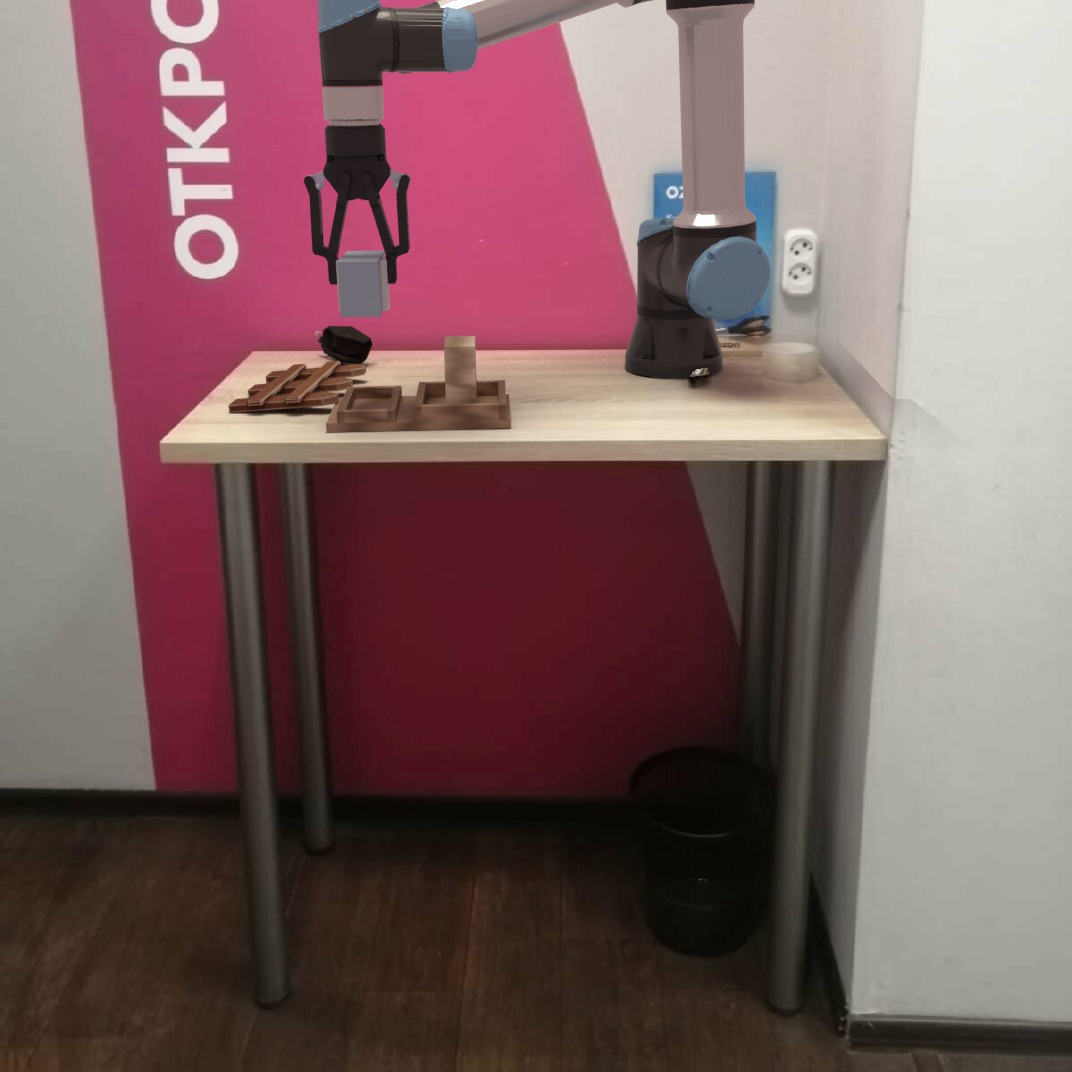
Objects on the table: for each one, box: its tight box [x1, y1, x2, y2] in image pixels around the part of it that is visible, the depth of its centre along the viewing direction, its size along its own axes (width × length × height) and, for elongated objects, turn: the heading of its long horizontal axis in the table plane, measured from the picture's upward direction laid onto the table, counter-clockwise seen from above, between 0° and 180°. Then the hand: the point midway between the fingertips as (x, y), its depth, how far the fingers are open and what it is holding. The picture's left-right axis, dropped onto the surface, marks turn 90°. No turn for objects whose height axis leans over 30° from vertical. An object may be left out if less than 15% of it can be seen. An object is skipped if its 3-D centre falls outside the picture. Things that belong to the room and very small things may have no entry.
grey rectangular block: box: [337, 250, 386, 318], centre depth 165 cm, size 5×10×7 cm, turn 1°
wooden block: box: [443, 335, 478, 404], centre depth 170 cm, size 4×7×9 cm, turn 2°
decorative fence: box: [228, 360, 367, 414], centre depth 184 cm, size 23×2×15 cm
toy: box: [314, 325, 373, 366], centre depth 205 cm, size 9×6×15 cm
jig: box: [325, 379, 512, 433], centre depth 171 cm, size 24×14×3 cm, turn 92°
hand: (364, 308), depth 167 cm, fingers closed on grey rectangular block, 5 cm apart
